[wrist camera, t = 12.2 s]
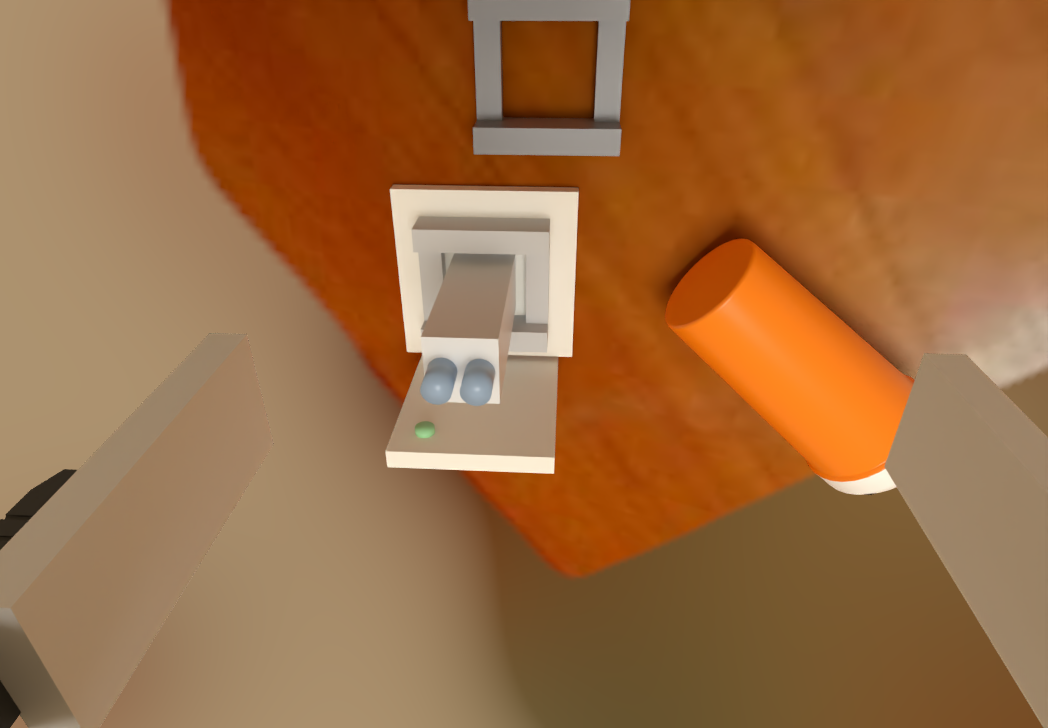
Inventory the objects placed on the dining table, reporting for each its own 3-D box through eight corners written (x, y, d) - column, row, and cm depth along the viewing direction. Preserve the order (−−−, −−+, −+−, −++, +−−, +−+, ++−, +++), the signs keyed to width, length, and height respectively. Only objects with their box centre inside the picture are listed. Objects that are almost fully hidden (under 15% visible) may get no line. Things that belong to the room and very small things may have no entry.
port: (393, 184, 44) (338, 253, 34) (578, 187, 43) (580, 259, 33) (411, 363, 51) (371, 466, 41) (571, 368, 50) (570, 474, 40)
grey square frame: (474, -14, 38) (467, -12, 35) (627, -14, 37) (631, -12, 35) (479, 142, 42) (473, 154, 40) (616, 143, 42) (619, 156, 39)
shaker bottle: (646, 364, 41) (848, 534, 47) (770, 284, 35) (982, 488, 41) (658, 281, 47) (835, 439, 53) (765, 201, 42) (949, 388, 48)
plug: (455, 250, 45) (412, 356, 33) (515, 251, 45) (494, 359, 33) (458, 304, 47) (419, 423, 35) (515, 305, 47) (496, 425, 35)
